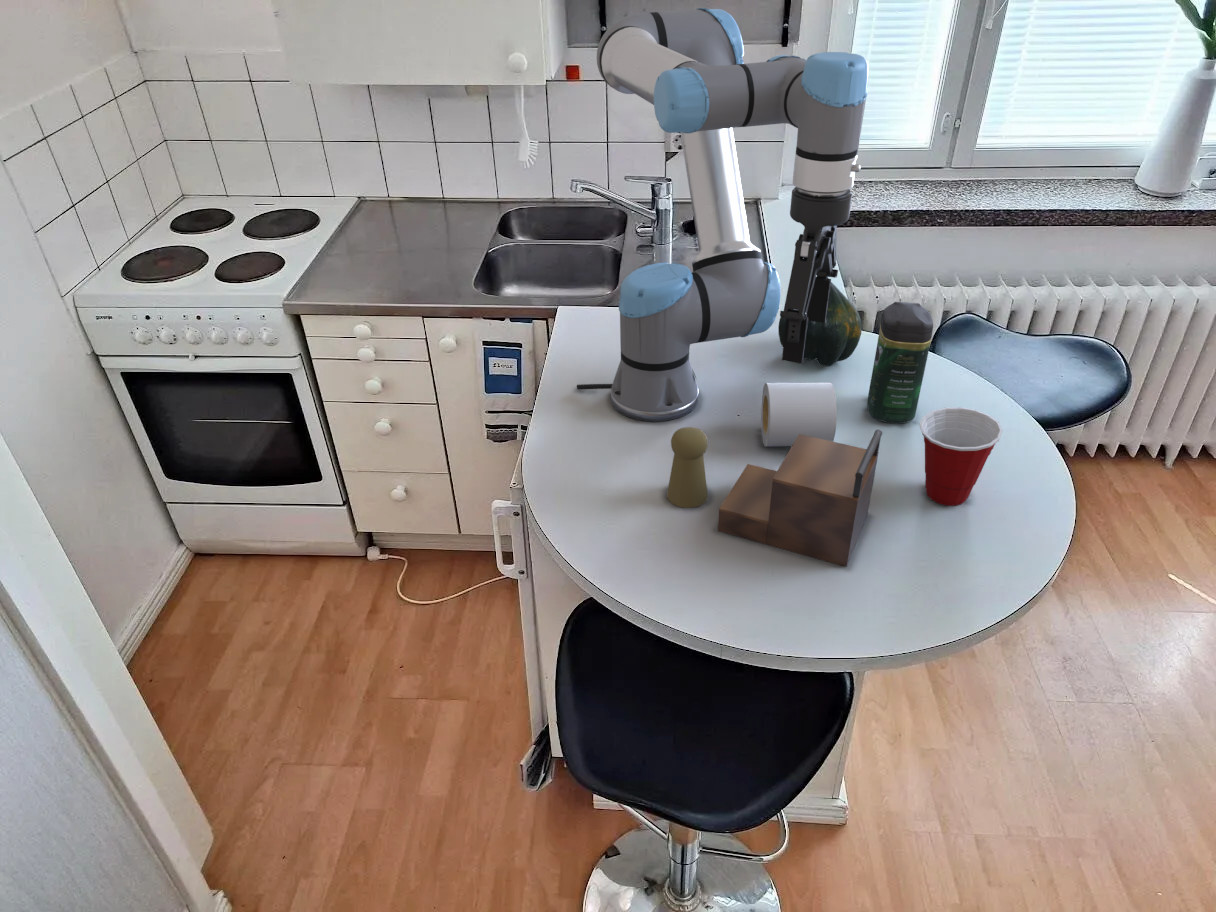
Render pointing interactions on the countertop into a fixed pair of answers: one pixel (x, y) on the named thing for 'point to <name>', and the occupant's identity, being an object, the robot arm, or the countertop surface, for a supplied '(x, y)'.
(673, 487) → the pale yellow rounded piece
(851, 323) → the squash
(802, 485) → the brown wooden stepped block
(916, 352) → the coffee jar
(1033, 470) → the countertop surface
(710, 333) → the robot arm
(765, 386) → the toilet paper
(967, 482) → the plastic cup
